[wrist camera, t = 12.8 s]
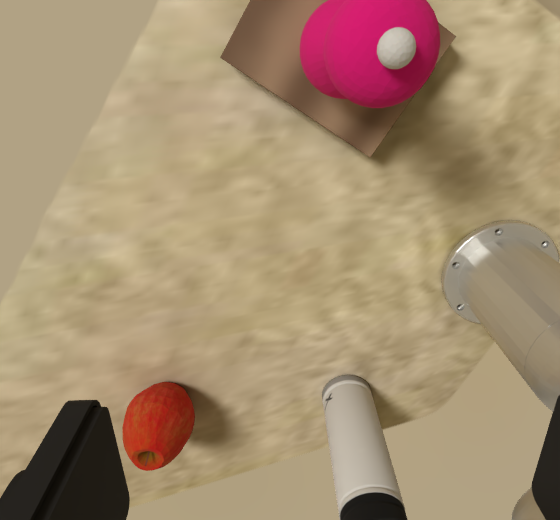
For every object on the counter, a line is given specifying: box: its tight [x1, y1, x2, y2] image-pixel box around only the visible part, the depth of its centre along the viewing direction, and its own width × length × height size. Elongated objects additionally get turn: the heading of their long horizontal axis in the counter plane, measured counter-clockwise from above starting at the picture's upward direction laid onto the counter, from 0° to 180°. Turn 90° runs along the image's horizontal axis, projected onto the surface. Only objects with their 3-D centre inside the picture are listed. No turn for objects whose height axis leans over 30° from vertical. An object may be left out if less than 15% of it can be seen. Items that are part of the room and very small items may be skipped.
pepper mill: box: [300, 0, 440, 108], centre depth 29 cm, size 7×7×20 cm
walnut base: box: [220, 0, 456, 157], centre depth 40 cm, size 16×12×3 cm
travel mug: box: [322, 375, 407, 520], centre depth 49 cm, size 6×7×20 cm
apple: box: [123, 382, 195, 471], centre depth 53 cm, size 8×8×11 cm
